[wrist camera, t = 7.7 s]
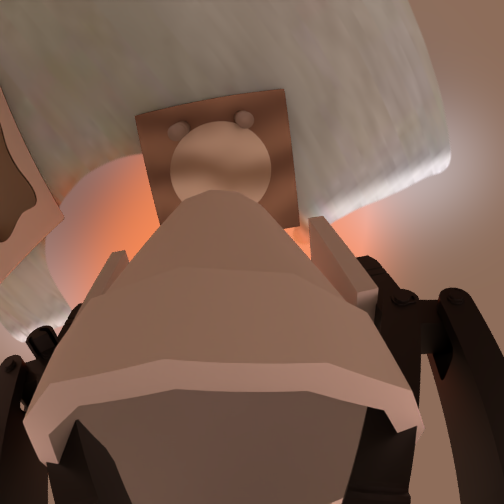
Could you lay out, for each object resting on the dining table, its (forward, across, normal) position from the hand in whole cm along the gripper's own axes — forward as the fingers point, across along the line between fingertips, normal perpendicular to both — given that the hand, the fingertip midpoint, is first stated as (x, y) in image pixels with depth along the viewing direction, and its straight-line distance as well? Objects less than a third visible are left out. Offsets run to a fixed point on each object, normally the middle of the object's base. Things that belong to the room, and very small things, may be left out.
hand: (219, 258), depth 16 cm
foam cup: (+2, 0, 0) cm, 2 cm away
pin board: (+22, 0, 0) cm, 22 cm away
